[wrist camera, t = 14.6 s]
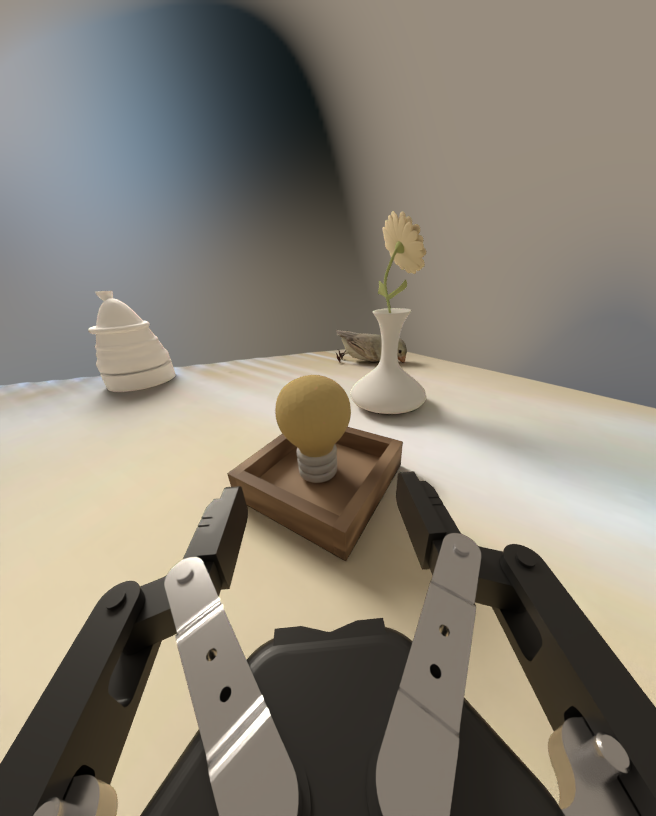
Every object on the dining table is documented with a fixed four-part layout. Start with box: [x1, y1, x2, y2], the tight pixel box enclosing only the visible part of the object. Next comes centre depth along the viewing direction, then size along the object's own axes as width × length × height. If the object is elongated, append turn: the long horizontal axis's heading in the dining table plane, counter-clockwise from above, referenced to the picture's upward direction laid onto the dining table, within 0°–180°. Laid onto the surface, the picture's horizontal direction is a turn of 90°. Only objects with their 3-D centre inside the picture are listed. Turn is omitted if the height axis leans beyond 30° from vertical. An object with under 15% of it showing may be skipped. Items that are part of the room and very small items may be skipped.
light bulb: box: [276, 375, 351, 483], centre depth 23 cm, size 6×6×10 cm
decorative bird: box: [335, 330, 407, 363], centre depth 59 cm, size 5×16×8 cm, turn 77°
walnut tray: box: [227, 427, 403, 561], centre depth 25 cm, size 12×12×3 cm
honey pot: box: [88, 291, 176, 392], centre depth 53 cm, size 13×13×18 cm
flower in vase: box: [350, 211, 426, 414], centre depth 36 cm, size 13×11×25 cm
